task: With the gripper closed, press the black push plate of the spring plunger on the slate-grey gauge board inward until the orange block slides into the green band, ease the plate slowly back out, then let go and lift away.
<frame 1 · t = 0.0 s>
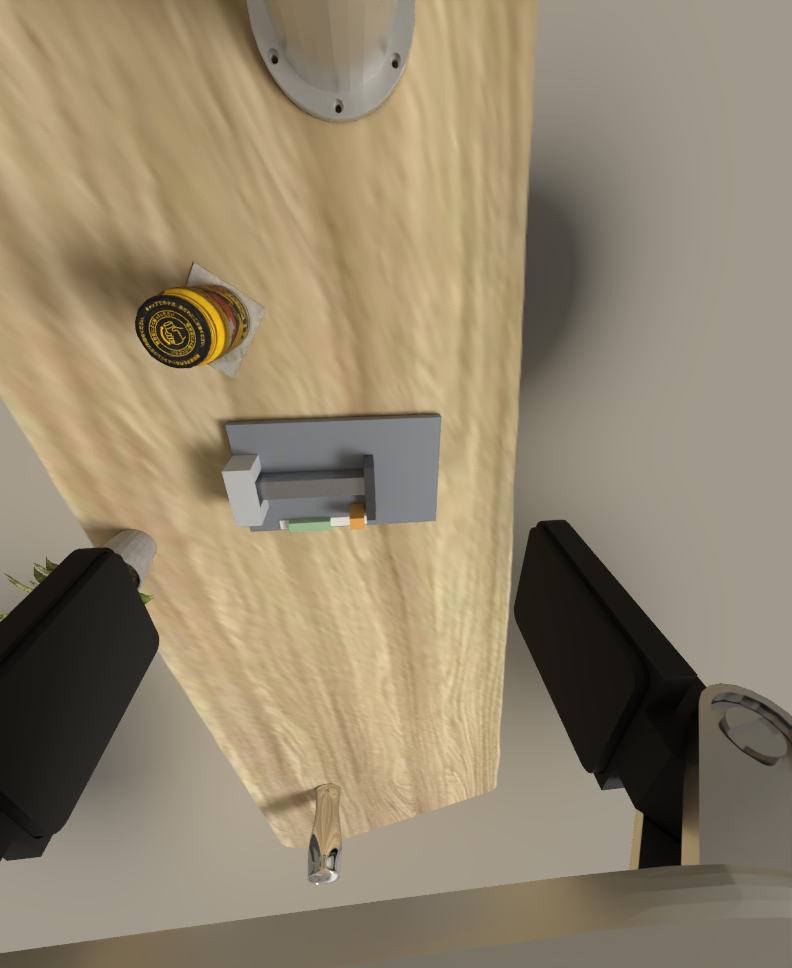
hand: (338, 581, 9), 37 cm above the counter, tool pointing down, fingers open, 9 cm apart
house plant: (145, 540, 51), on the counter
condiment: (216, 324, 39), on the counter
orange block: (357, 515, 48), point 3 cm above the counter, slide at 0.0 cm
plunger: (313, 495, 46), point 3 cm above the counter, slide at 0.0 cm
gauge board: (341, 473, 49), on the counter
beer glass: (328, 788, 89), on the counter
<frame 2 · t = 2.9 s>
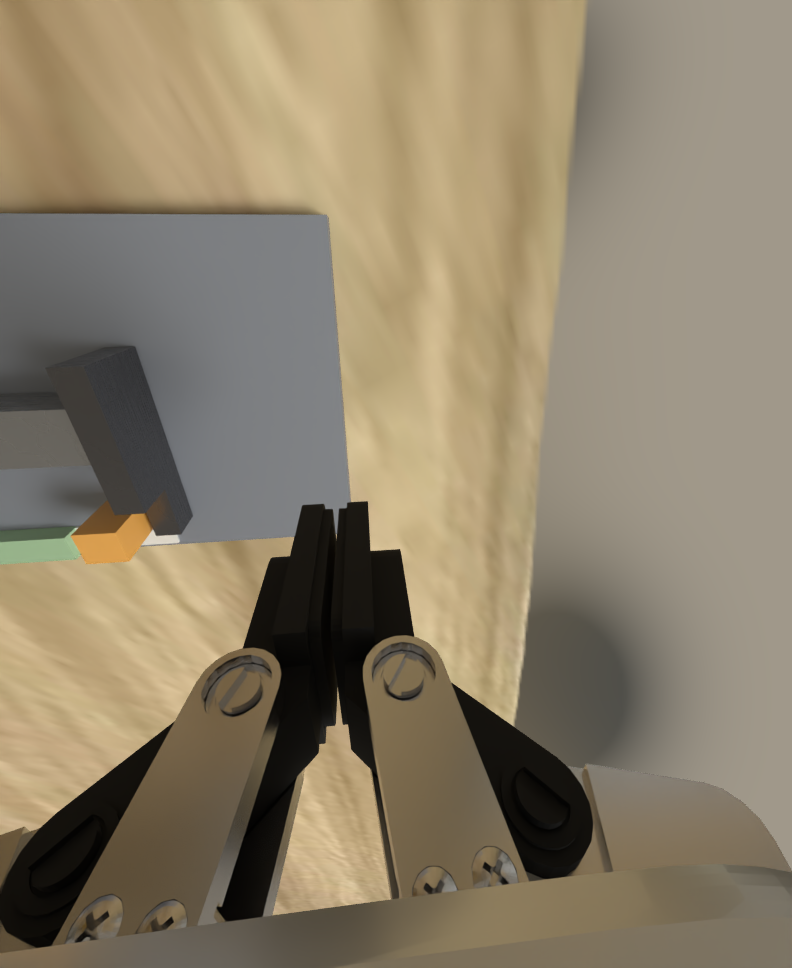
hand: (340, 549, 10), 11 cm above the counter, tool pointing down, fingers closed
orange block: (121, 524, 18), point 3 cm above the counter, slide at 0.0 cm
gauge board: (78, 409, 18), on the counter
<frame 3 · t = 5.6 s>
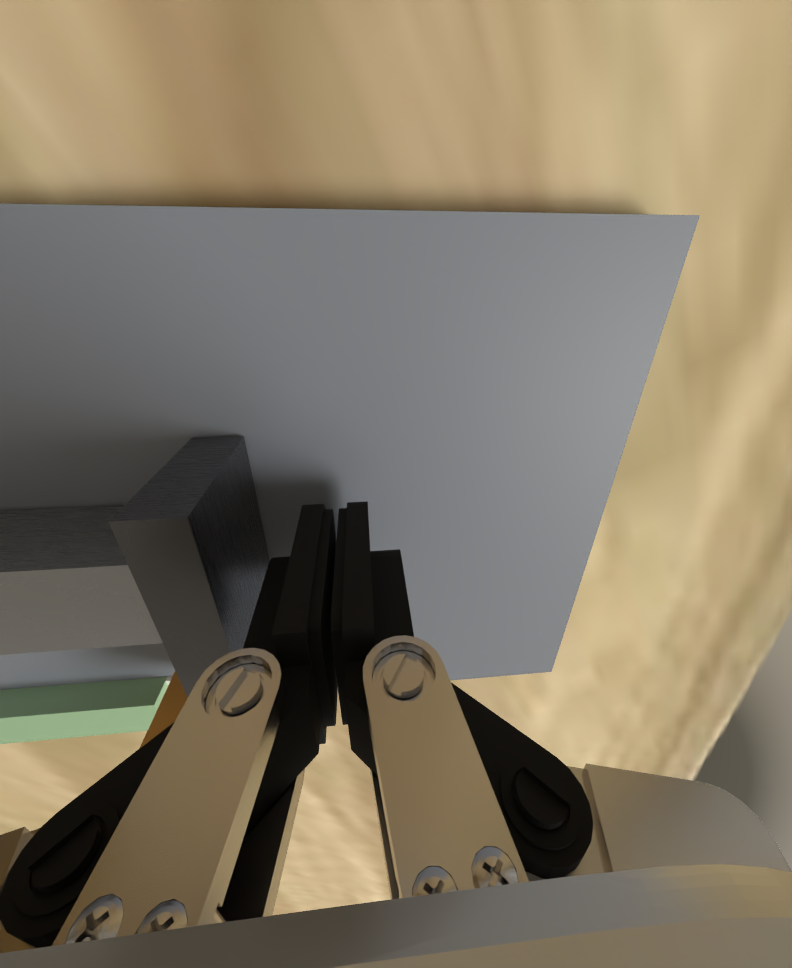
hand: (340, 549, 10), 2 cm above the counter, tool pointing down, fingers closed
orange block: (206, 703, 11), point 3 cm above the counter, slide at 1.4 cm, touching plunger
gauge board: (189, 514, 11), on the counter
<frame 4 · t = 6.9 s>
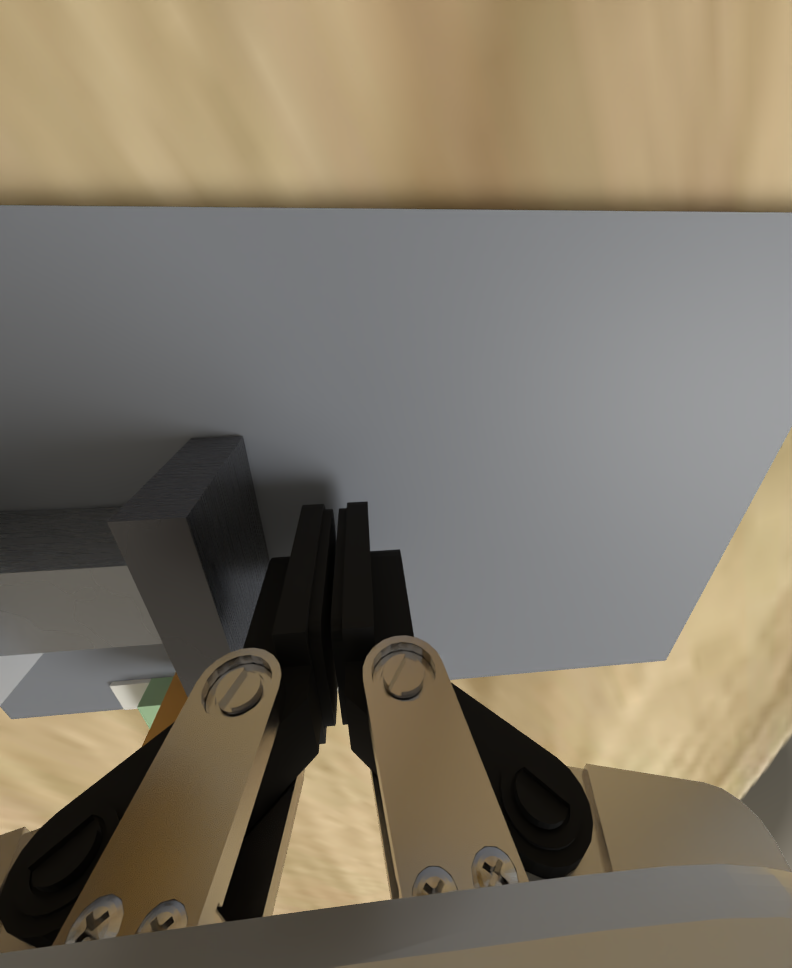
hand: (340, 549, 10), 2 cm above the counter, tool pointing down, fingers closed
orange block: (207, 703, 11), point 3 cm above the counter, slide at 6.2 cm, touching plunger
gauge board: (348, 506, 12), on the counter
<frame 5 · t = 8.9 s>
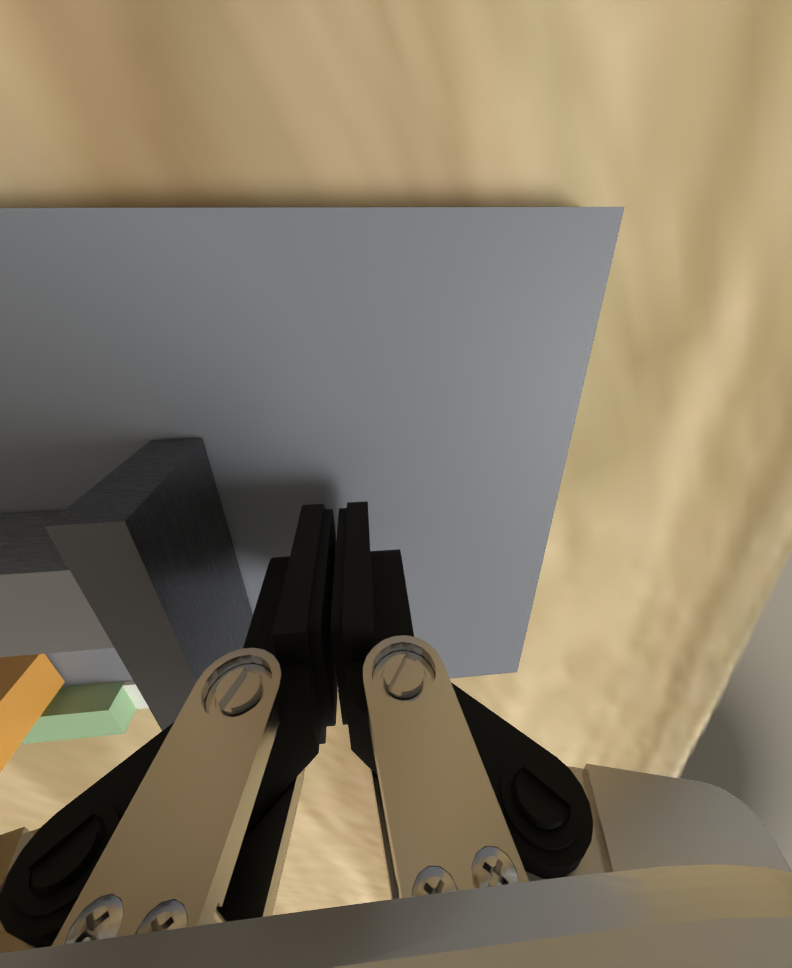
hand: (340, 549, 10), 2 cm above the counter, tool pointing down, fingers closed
gauge board: (137, 518, 11), on the counter
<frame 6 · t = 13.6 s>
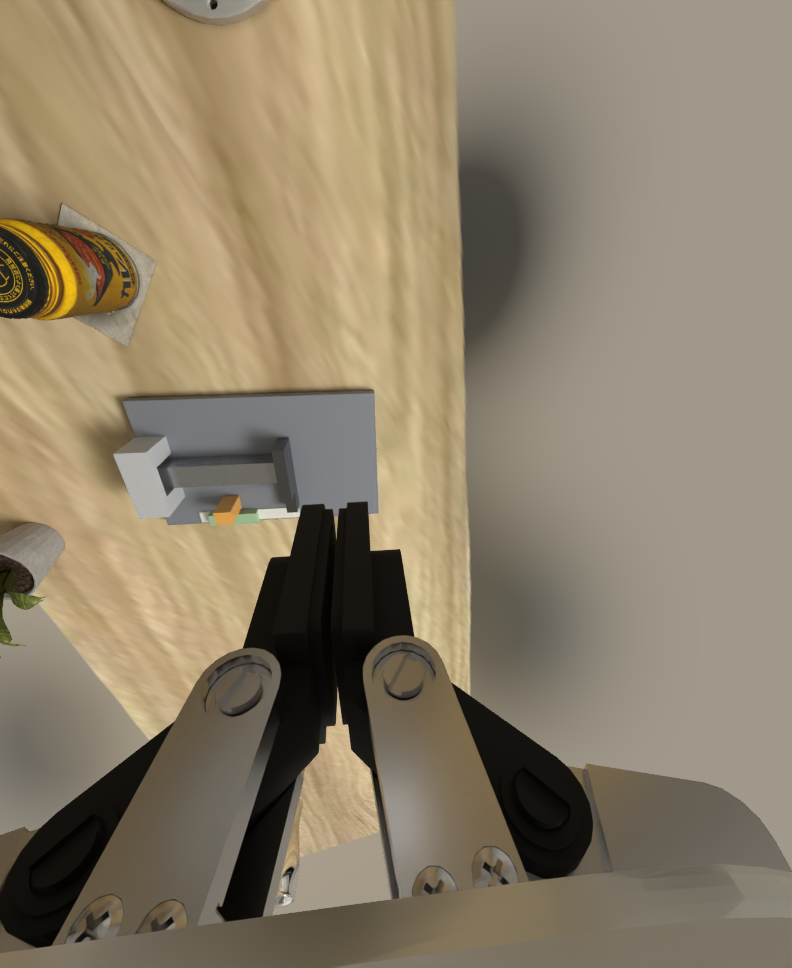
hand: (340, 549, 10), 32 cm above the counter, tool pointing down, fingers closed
house plant: (50, 535, 45), on the counter
condiment: (100, 280, 34), on the counter
orange block: (228, 510, 42), point 3 cm above the counter, slide at 6.2 cm
plunger: (220, 483, 41), point 3 cm above the counter, slide at 1.1 cm
gauge board: (266, 458, 43), on the counter
beer glass: (289, 802, 84), on the counter
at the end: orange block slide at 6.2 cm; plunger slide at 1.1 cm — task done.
